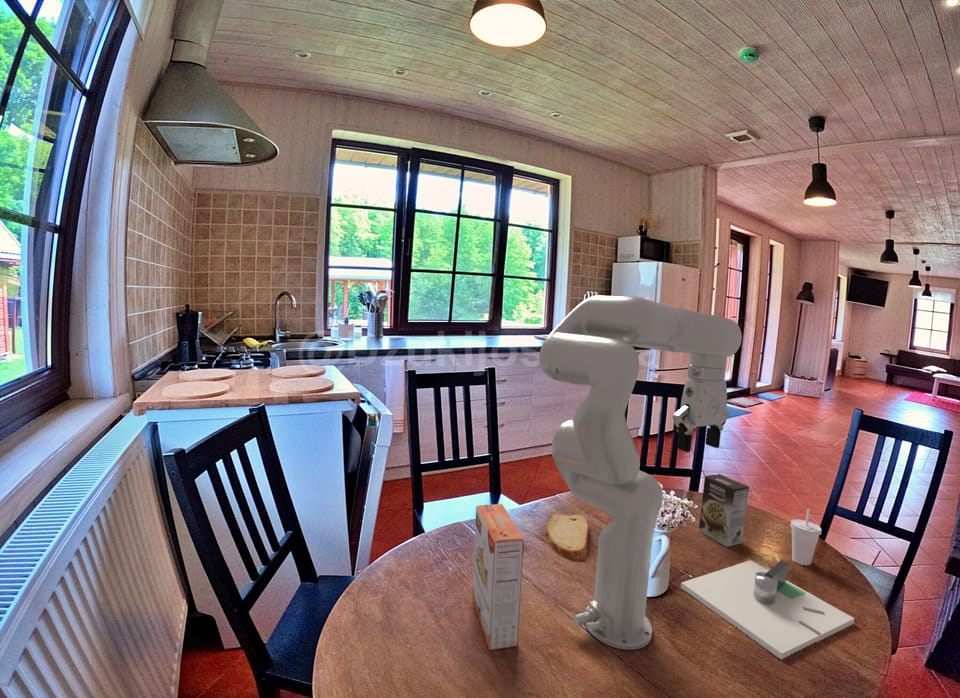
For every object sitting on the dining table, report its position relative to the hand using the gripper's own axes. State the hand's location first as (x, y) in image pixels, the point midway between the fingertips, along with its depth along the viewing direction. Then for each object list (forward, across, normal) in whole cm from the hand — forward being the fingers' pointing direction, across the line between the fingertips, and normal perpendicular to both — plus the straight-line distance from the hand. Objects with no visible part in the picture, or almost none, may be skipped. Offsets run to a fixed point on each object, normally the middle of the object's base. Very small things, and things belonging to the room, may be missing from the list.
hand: (698, 448), depth 105 cm
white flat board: (+30, +6, -15) cm, 34 cm away
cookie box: (+30, +23, +8) cm, 39 cm away
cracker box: (+30, -50, +2) cm, 59 cm away
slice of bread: (+31, -16, +23) cm, 42 cm away
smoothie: (+30, +32, -8) cm, 45 cm away
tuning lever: (+28, +10, -14) cm, 33 cm away
